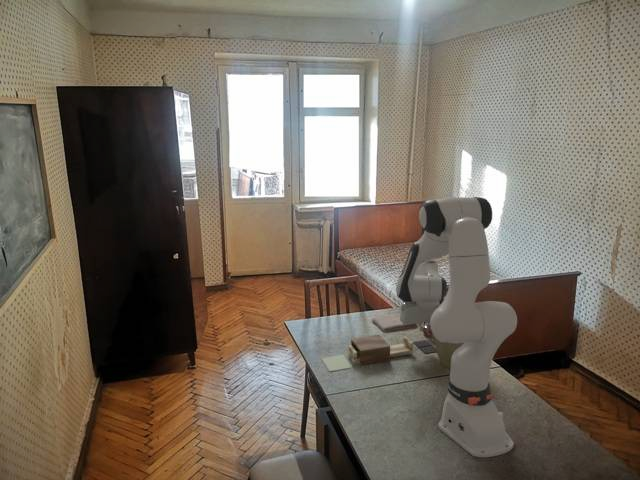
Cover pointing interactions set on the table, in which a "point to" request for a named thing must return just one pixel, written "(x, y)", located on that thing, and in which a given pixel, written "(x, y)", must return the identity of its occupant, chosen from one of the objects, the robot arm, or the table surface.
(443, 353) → the plant pot
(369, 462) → the table surface
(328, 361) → the pad
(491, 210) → the robot arm
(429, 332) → the soda can
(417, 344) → the plate
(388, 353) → the tunnel
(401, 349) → the board
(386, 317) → the washcloth
